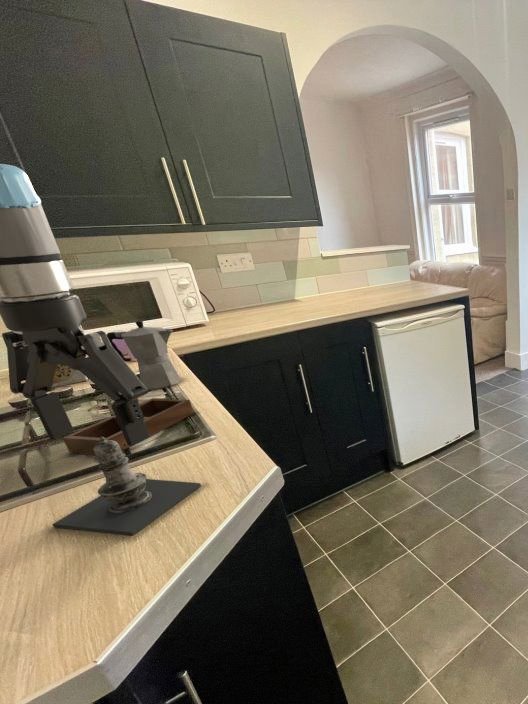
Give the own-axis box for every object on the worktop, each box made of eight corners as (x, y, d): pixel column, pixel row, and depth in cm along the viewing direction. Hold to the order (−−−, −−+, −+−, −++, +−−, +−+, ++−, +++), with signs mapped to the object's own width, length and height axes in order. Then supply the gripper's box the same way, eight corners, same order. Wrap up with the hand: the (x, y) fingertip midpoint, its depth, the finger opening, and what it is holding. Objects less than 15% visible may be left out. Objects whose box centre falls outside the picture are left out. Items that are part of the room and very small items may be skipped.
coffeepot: (194, 374, 124) (174, 314, 117) (184, 385, 115) (161, 322, 109) (131, 382, 119) (106, 320, 112) (115, 394, 111) (87, 328, 104)
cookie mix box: (89, 375, 125) (66, 322, 119) (87, 381, 121) (63, 326, 115) (46, 383, 120) (20, 328, 114) (42, 389, 116) (14, 332, 109)
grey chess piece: (145, 486, 71) (118, 424, 66) (160, 497, 68) (133, 432, 64) (100, 506, 66) (68, 440, 62) (115, 518, 63) (82, 450, 59)
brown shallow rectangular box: (69, 453, 83) (62, 438, 82) (158, 411, 100) (152, 398, 99) (112, 456, 82) (105, 440, 80) (194, 413, 99) (189, 399, 98)
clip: (111, 351, 148) (103, 332, 146) (155, 345, 154) (148, 326, 152) (97, 366, 133) (88, 345, 130) (147, 359, 139) (139, 339, 136)
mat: (53, 527, 63) (51, 524, 63) (131, 480, 74) (130, 477, 74) (132, 535, 61) (131, 532, 61) (201, 486, 72) (200, 483, 72)
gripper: (146, 292, 56) (194, 431, 64) (-4, 289, 60) (59, 421, 68) (86, 304, 49) (148, 457, 58) (-80, 299, 53) (1, 445, 61)
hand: (100, 438), depth 63 cm, fingers open, 13 cm apart
